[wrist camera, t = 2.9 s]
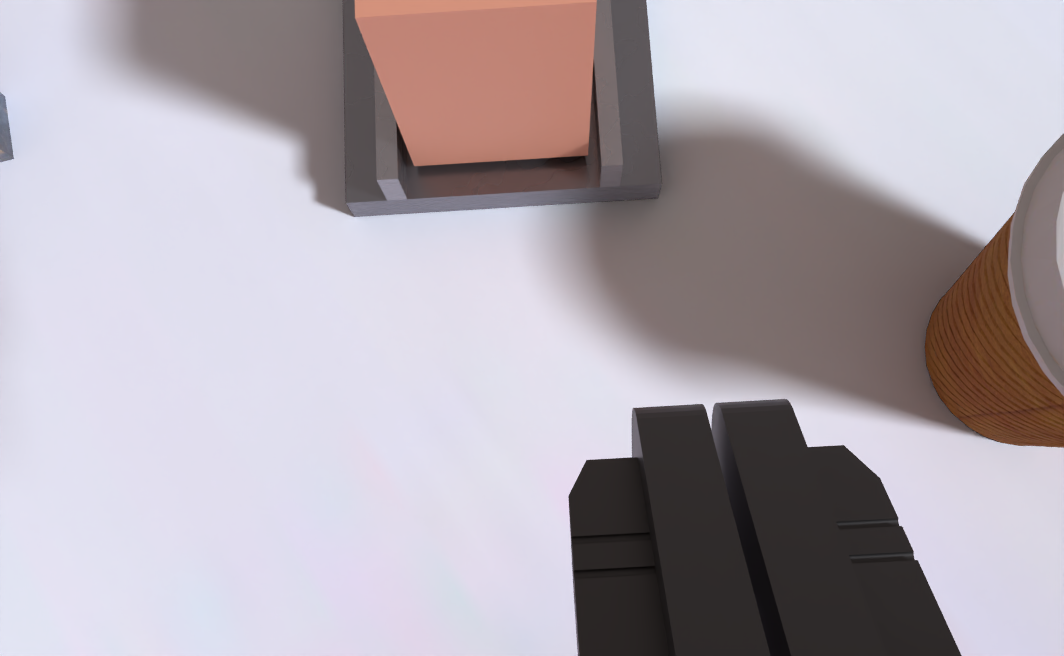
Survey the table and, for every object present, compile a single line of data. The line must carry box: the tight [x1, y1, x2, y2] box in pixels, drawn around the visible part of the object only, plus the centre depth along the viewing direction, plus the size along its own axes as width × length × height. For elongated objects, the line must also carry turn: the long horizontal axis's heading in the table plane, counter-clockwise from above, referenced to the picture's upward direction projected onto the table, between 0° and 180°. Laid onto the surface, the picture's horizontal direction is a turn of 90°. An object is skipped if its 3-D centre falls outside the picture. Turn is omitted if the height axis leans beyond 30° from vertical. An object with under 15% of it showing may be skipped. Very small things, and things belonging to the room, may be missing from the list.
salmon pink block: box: [355, 0, 597, 166], centre depth 30 cm, size 6×6×10 cm
